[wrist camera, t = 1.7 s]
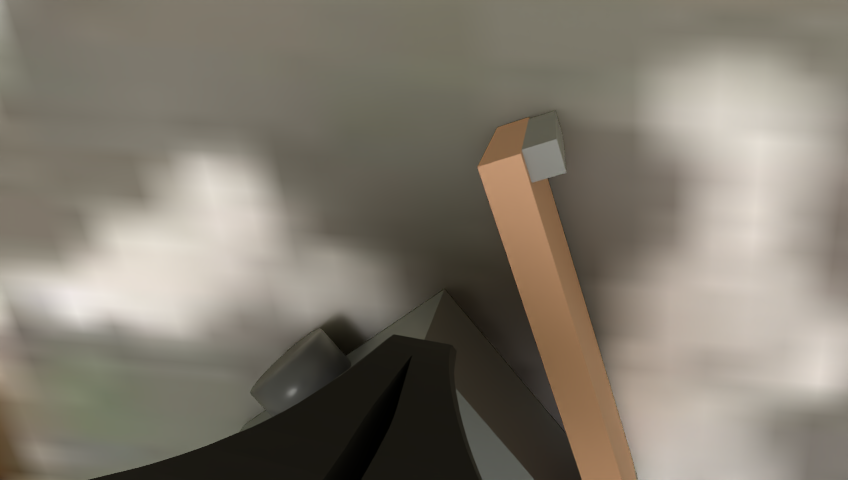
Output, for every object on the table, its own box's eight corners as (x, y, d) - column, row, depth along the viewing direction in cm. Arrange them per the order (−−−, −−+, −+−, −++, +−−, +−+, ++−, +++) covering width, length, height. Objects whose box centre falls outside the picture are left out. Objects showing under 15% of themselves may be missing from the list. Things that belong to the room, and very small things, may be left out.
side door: (662, 482, 21) (695, 617, 16) (612, 488, 22) (629, 621, 17) (555, 108, 17) (556, 142, 12) (497, 127, 18) (477, 166, 13)
